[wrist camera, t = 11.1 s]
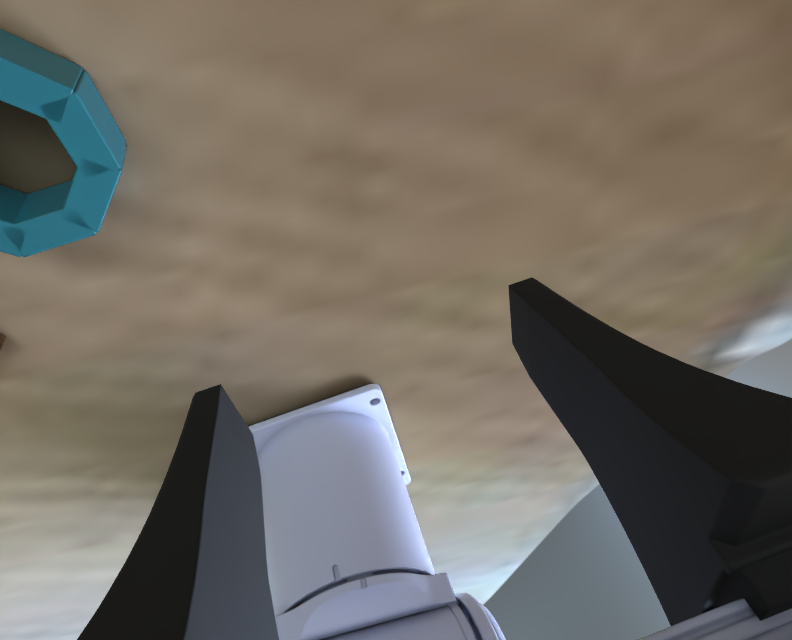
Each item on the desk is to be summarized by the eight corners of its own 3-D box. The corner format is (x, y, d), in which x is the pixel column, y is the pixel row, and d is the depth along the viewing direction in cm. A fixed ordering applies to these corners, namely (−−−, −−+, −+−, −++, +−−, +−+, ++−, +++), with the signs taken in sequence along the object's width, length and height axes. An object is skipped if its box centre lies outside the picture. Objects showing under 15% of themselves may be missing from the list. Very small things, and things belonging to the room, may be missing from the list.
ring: (153, 188, 19) (150, 217, 17) (-15, 241, 18) (-33, 275, 17) (49, 4, 15) (35, 22, 14) (-167, 66, 15) (-205, 91, 13)
